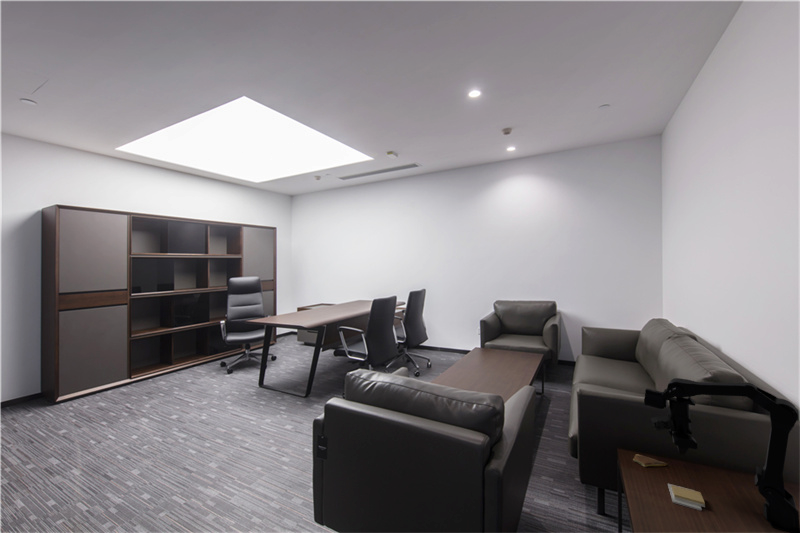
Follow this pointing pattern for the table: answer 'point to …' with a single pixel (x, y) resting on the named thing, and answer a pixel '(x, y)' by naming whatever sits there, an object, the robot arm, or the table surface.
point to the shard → (647, 461)
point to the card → (687, 495)
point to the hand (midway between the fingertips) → (681, 455)
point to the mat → (683, 501)
